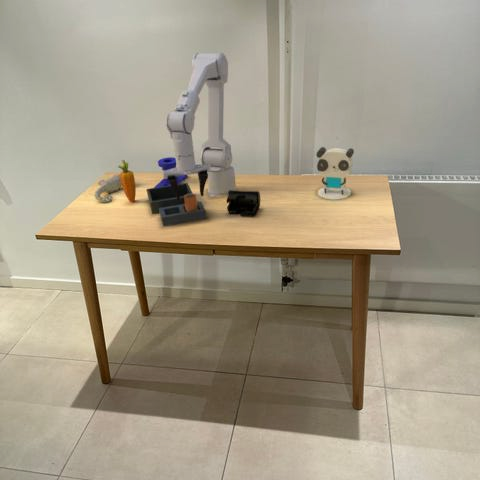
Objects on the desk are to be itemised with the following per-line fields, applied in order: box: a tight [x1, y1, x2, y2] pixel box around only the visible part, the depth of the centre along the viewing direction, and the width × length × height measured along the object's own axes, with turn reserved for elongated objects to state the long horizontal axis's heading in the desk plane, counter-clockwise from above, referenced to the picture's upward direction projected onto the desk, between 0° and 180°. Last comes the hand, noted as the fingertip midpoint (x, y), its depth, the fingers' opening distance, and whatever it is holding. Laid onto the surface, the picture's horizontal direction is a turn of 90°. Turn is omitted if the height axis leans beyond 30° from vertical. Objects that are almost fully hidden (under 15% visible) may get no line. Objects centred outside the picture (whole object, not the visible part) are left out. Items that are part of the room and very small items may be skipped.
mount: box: [153, 156, 189, 188], centre depth 176 cm, size 15×8×9 cm, turn 164°
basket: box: [146, 182, 194, 215], centre depth 162 cm, size 15×13×5 cm
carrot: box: [117, 159, 137, 203], centre depth 162 cm, size 5×5×15 cm
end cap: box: [226, 189, 261, 218], centre depth 153 cm, size 10×7×7 cm
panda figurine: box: [315, 146, 355, 201], centre depth 158 cm, size 12×11×15 cm
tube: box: [184, 193, 198, 212], centre depth 151 cm, size 4×4×8 cm
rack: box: [158, 200, 207, 227], centre depth 152 cm, size 8×14×4 cm, turn 105°
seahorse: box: [94, 173, 136, 203], centre depth 174 cm, size 5×12×20 cm
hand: (190, 196), depth 149 cm, fingers open, 7 cm apart
